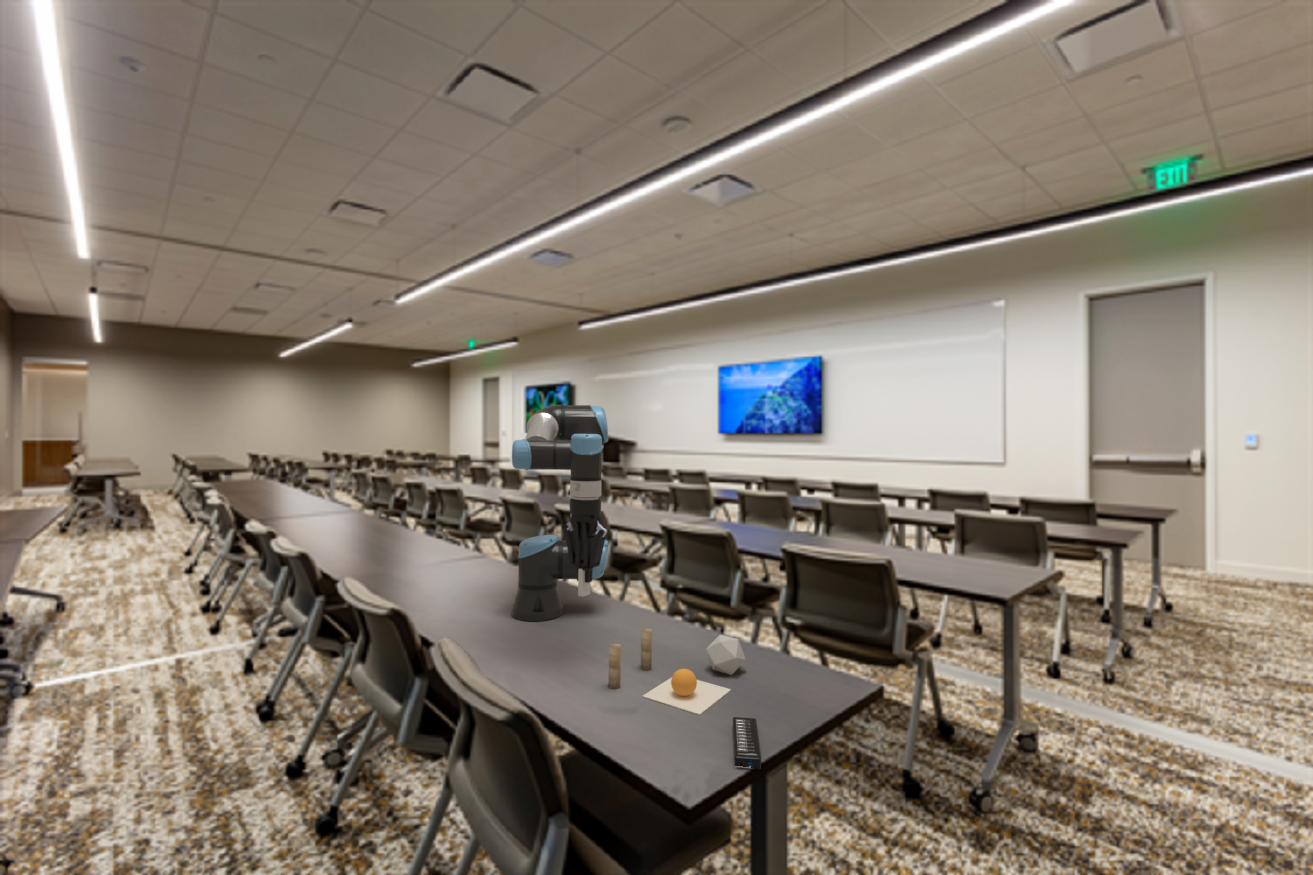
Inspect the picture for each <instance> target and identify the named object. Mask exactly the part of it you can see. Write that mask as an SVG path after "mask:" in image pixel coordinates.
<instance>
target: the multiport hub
mask: <svg viewBox="0 0 1313 875" xmlns="http://www.w3.org/2000/svg"><path fill="white" fill-rule="evenodd" d="M757 725H758V724H757V718H754V717H740V716H739V717H738V716H733V717H732V739H733V740H732V741H733V742H732V743H733V762H734V763H733V764H734V765H735V766H743V767H749V766H751V768H754V769H753V770H757V771H759V770H761V769H762V756H761V747H760V739H759V738H760V737H759V732H758V726H757ZM735 766H734V767H735Z"/></svg>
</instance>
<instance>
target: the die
mask: <svg viewBox="0 0 1313 875" xmlns="http://www.w3.org/2000/svg"><path fill="white" fill-rule="evenodd" d="M705 652H706V655H707V656H708V660H709V664H710V665H711V668H712V669H711V670H712V671H715V672H719V673H722V674H726V675H729V676H733V674H735V672H736V671H737V670H738V669H739V668H741V667H740V666H742V664H743V663H745V661H746V660H747V659H746V656H745V654H744V651H743V648H742V645H741V643H740V640H739V638H735V637H732V636H728V635H723V634H719V635H718V636H717V637H716V638H715V639H714V640H713V641H712V642H711V643H710V644H709V645H708V646H707V648H705Z"/></svg>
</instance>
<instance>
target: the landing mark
mask: <svg viewBox="0 0 1313 875" xmlns="http://www.w3.org/2000/svg"><path fill="white" fill-rule="evenodd" d="M671 679H672V676H671V677H669V678H668V679H667V680H665V681H664V682H662V683H661V684H659V685H658V686H656V687H654V688H652V689H651V690H650V691H648V692H647V693H645V694H643V695H642V696H641V697H642V698H645V699H647V700H651V701H653V702H656V703H660V704H663V705H666V706H669V707H673V708H676V709H679V710H683V711H685V712H689V713H691V714H695V715H698V716H701V715H702V714H703V713H705V712H706V711H707V710H709V708H711V707H712V706H713V705H714V704H716V703H717V702H718V701H720V700H721V699H723V698H724V696H727V694H729V693H730V692H731V691H732V689H731V688H728V687H725V686H722V685H717V684H713V683H709V682H706V681H703V680H699V679H696V680H697V686H696V689H695V691H694V692H693V693H692V694H691V695H689V696H680V695H678V694H676V693H675V692H674V690H673V688H672V685H671Z"/></svg>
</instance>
